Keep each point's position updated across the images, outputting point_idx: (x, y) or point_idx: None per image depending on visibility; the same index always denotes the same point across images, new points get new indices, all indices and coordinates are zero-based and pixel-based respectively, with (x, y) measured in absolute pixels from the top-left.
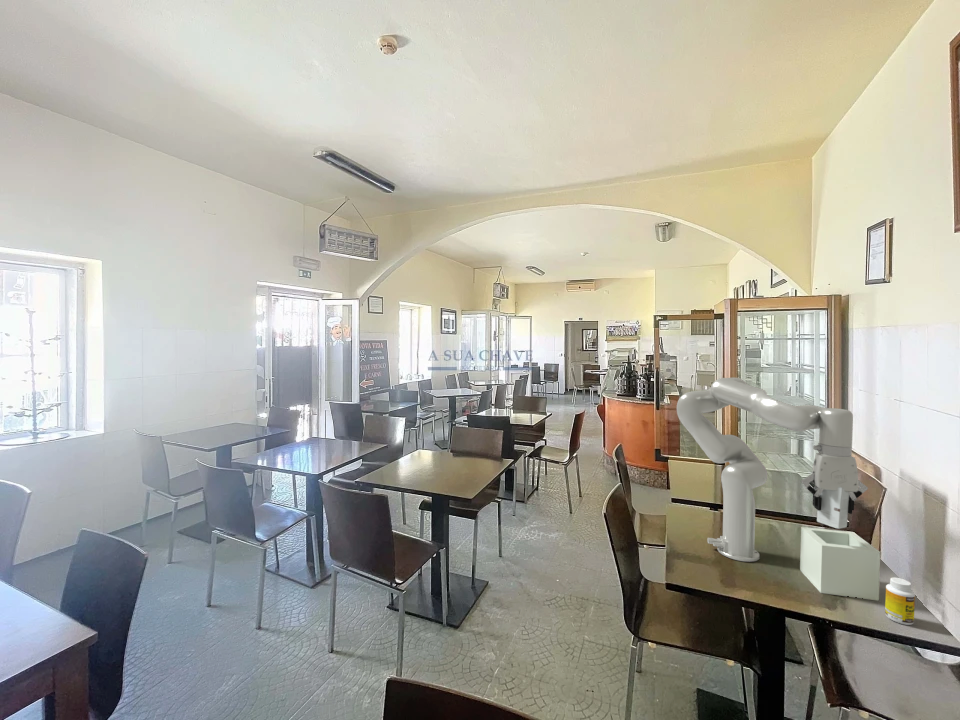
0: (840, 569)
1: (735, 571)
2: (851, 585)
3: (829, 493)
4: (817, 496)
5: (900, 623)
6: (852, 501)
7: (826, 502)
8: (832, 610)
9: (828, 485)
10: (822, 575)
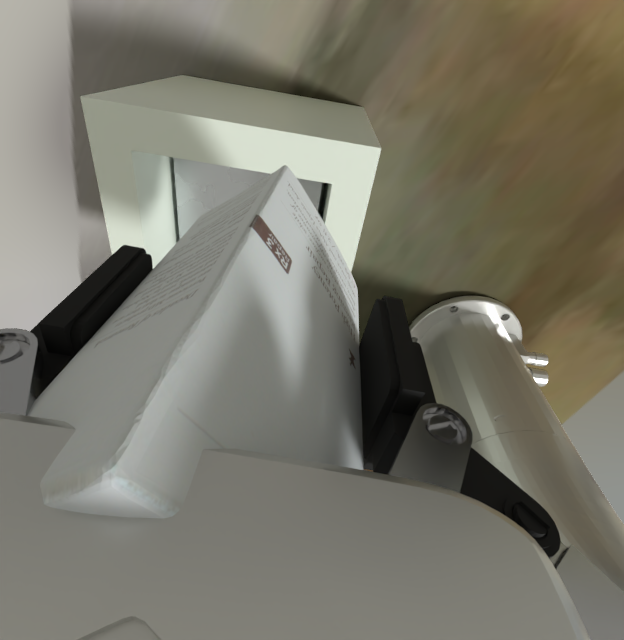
0: (294, 111)
1: (564, 231)
2: (261, 94)
3: (298, 433)
4: (436, 406)
5: None
6: (48, 318)
7: (328, 349)
8: None
9: (380, 576)
10: (363, 117)
